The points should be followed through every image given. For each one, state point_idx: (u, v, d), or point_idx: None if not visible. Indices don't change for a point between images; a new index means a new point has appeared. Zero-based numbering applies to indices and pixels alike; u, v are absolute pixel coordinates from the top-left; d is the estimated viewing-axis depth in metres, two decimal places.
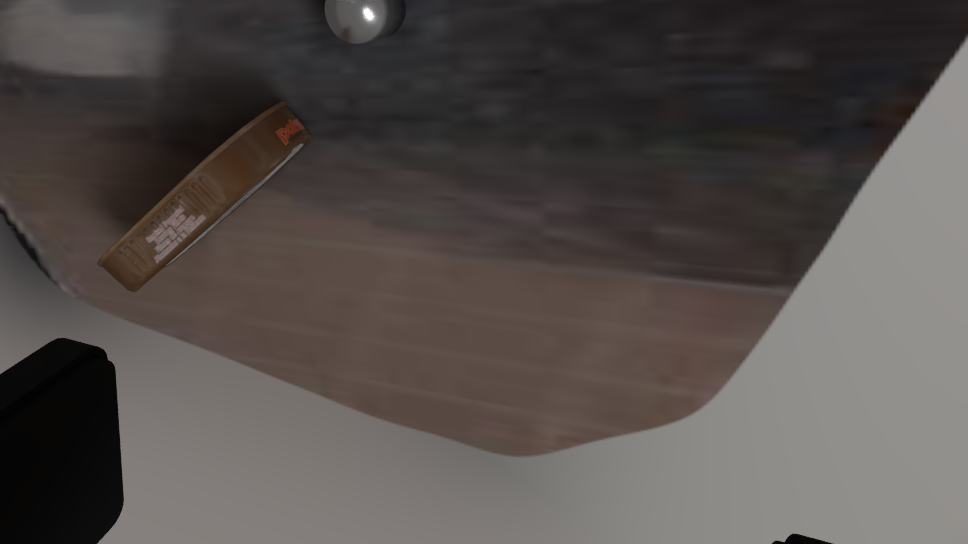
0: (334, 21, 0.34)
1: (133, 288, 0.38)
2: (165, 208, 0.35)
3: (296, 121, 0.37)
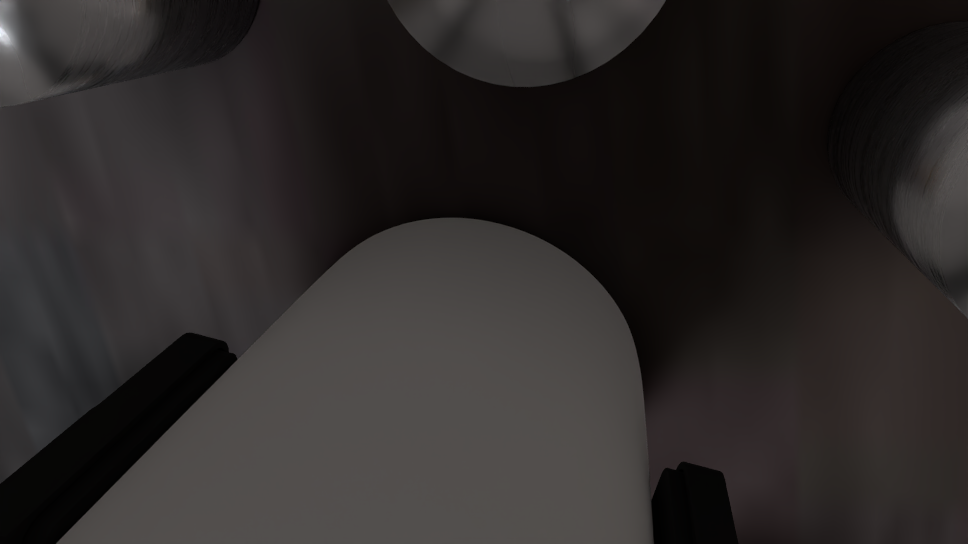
0: None
1: None
2: None
3: None
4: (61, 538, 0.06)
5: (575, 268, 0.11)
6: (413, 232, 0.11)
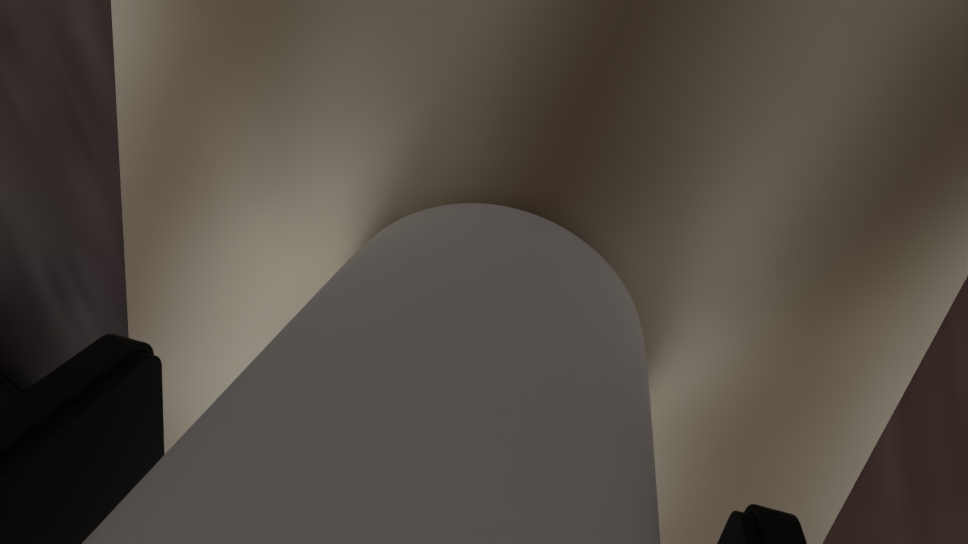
0: None
1: None
2: None
3: None
4: (153, 468, 0.07)
5: (586, 250, 0.12)
6: (438, 216, 0.12)
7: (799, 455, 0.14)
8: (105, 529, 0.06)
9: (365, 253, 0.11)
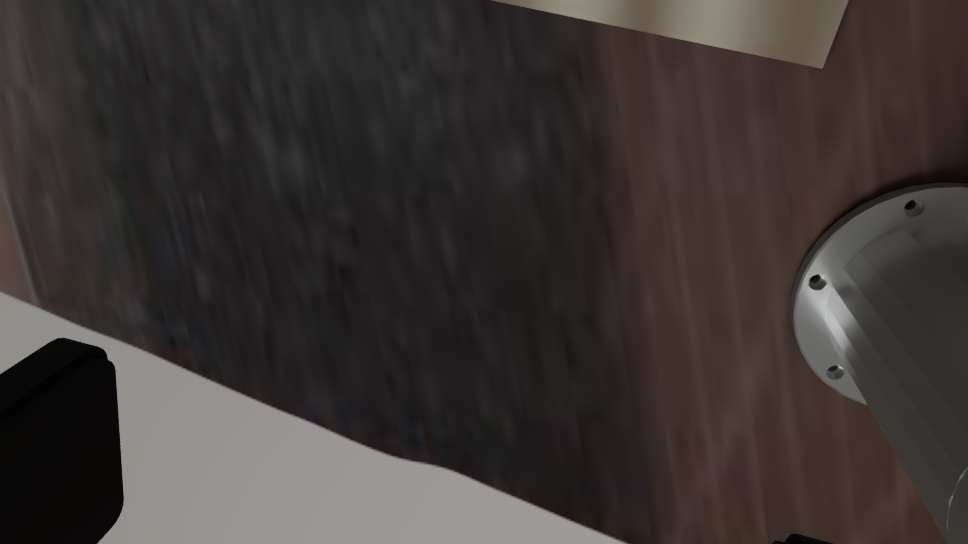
0: None
1: None
2: None
3: None
4: None
5: None
6: None
7: None
8: None
9: None
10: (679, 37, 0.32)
